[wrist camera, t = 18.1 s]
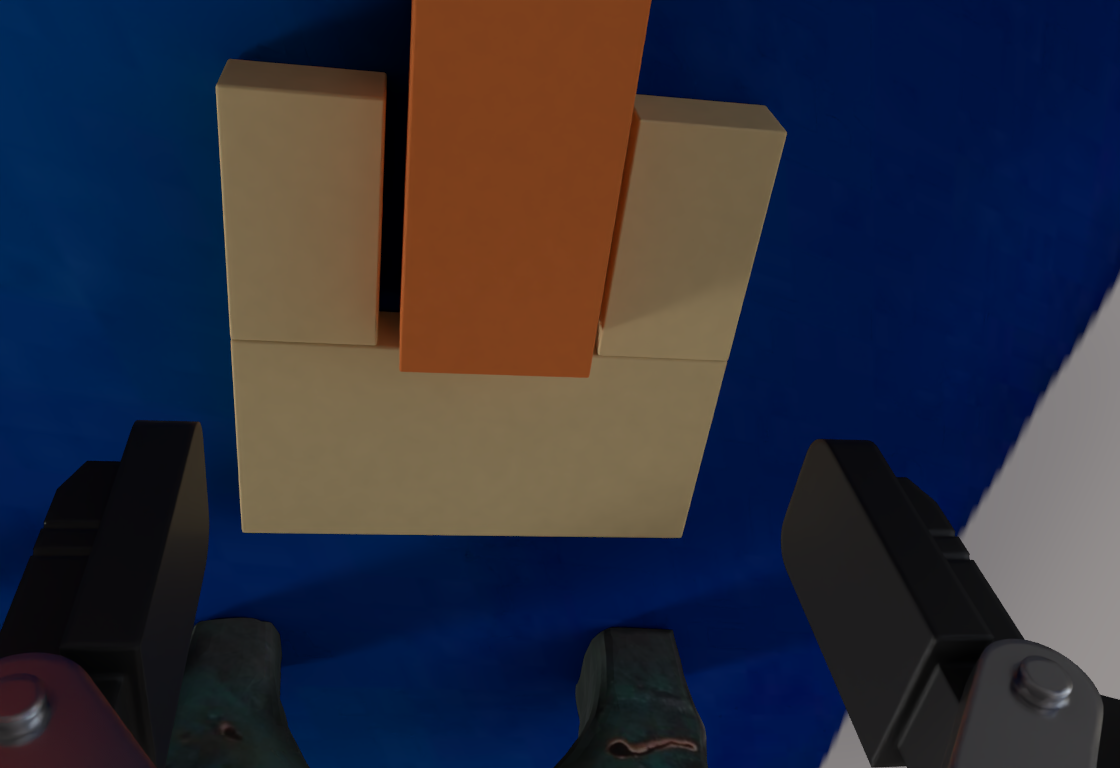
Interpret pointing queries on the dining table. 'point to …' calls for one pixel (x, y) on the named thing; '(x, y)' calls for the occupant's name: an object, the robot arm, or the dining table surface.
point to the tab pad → (513, 180)
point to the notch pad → (472, 399)
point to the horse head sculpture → (590, 764)
